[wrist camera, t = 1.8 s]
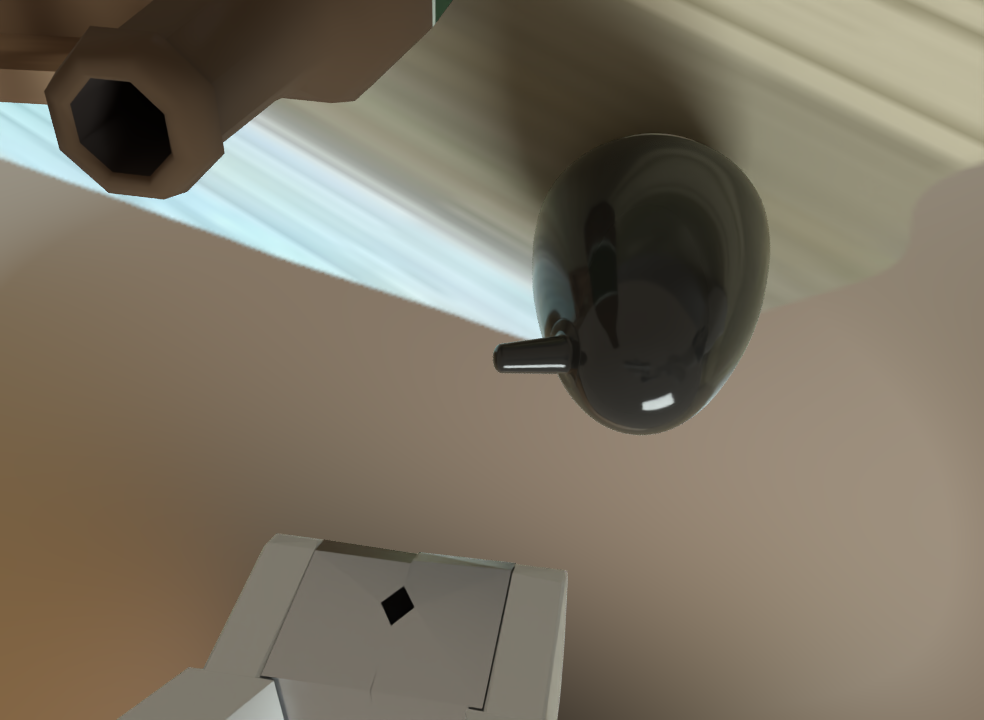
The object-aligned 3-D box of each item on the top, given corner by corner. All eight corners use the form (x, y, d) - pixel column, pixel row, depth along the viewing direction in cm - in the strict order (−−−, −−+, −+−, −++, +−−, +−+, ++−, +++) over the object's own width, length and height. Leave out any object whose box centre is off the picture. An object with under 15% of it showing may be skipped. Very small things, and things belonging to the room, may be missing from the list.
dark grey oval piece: (558, 83, 41) (500, 253, 29) (792, 121, 40) (831, 312, 28) (530, 276, 47) (473, 480, 35) (732, 312, 47) (744, 534, 35)
